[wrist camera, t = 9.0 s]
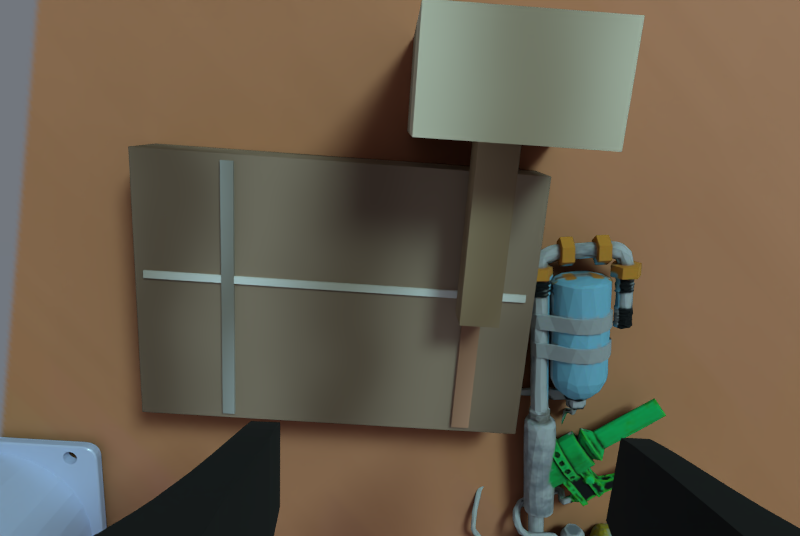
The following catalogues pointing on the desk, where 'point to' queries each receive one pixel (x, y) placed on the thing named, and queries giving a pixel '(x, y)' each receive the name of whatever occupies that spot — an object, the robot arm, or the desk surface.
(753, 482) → the desk surface
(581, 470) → the flamethrower
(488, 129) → the joiner mallet
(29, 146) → the desk surface
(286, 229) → the brown flat block
